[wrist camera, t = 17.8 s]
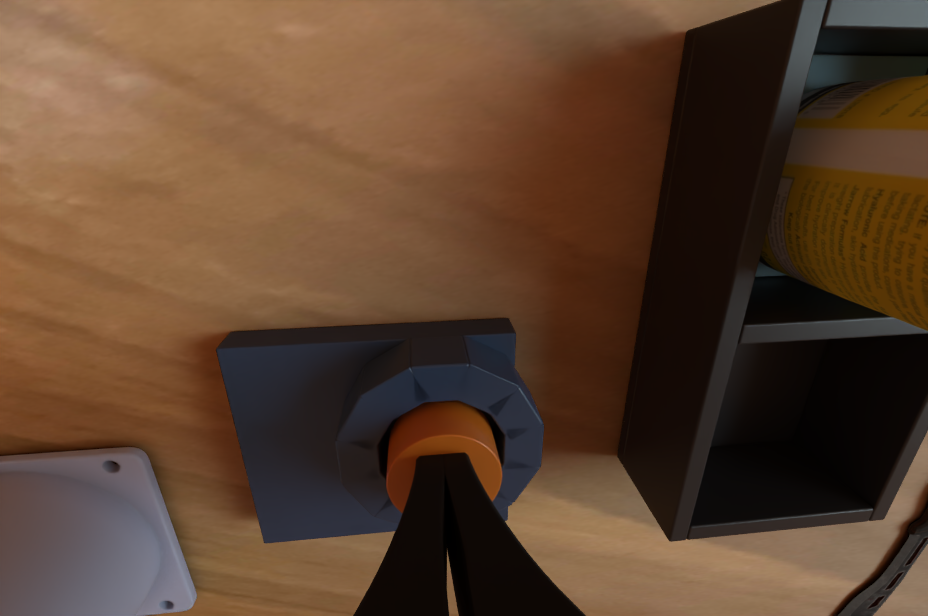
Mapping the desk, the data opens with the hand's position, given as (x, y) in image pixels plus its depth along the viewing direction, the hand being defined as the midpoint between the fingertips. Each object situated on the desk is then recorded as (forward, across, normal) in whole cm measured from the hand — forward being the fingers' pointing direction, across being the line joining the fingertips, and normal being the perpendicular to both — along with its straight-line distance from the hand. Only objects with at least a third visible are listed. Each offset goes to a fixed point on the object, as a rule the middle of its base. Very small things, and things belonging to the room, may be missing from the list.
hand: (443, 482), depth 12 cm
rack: (+4, -11, -4) cm, 12 cm away
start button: (+2, 0, 0) cm, 2 cm away
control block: (+4, +2, +1) cm, 5 cm away
